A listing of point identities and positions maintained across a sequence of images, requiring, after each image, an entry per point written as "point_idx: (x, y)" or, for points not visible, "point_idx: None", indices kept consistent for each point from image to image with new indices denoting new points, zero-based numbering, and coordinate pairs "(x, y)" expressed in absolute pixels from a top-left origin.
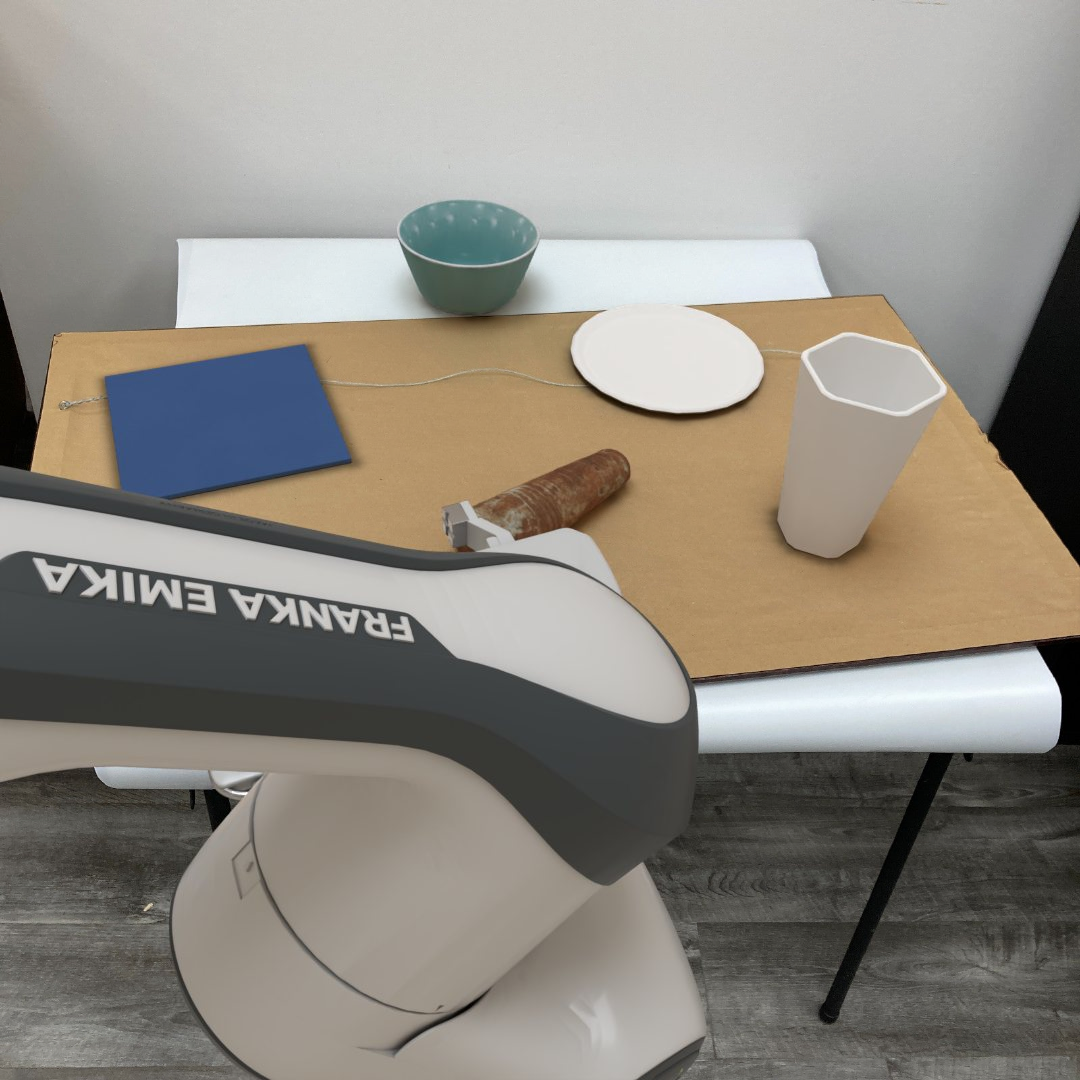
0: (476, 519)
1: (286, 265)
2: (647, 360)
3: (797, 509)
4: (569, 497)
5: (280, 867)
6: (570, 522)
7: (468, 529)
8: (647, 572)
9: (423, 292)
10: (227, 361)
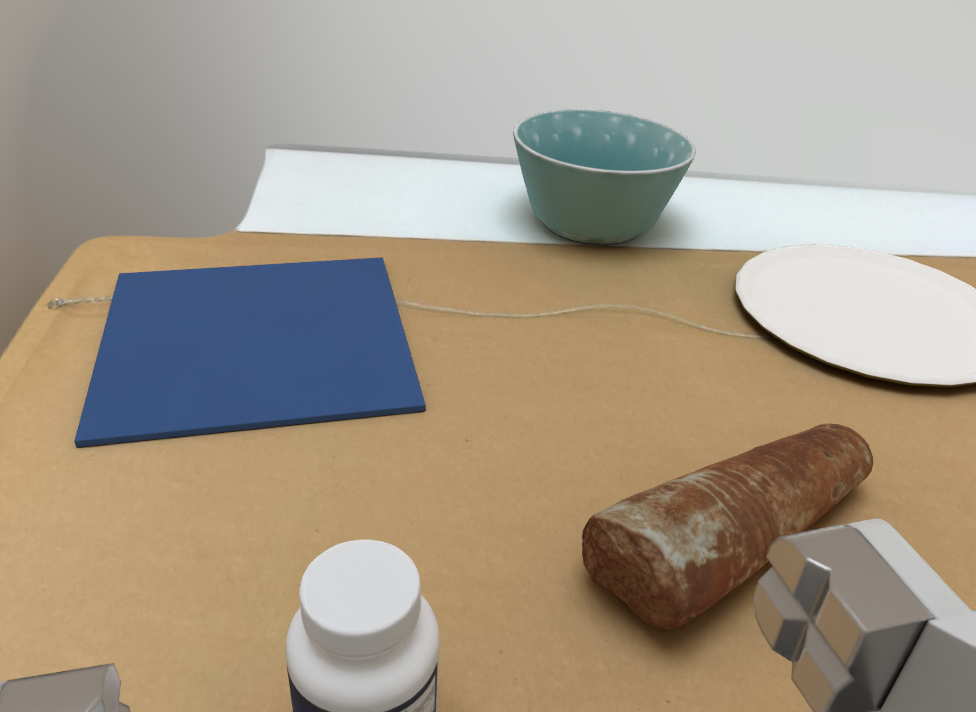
0: (970, 617)
1: (375, 179)
2: (844, 311)
3: None
4: (790, 499)
5: None
6: None
7: (918, 656)
8: None
9: (539, 210)
10: (279, 269)
